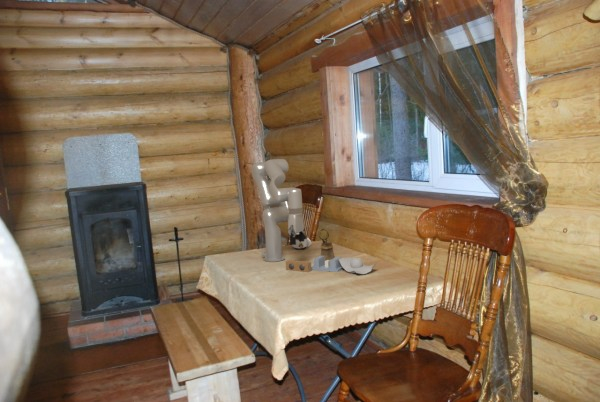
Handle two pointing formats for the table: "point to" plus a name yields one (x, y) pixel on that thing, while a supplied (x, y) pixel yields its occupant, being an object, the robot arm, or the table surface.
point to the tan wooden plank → (298, 266)
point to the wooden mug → (326, 245)
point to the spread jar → (301, 242)
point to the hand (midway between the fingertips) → (297, 242)
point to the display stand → (327, 264)
